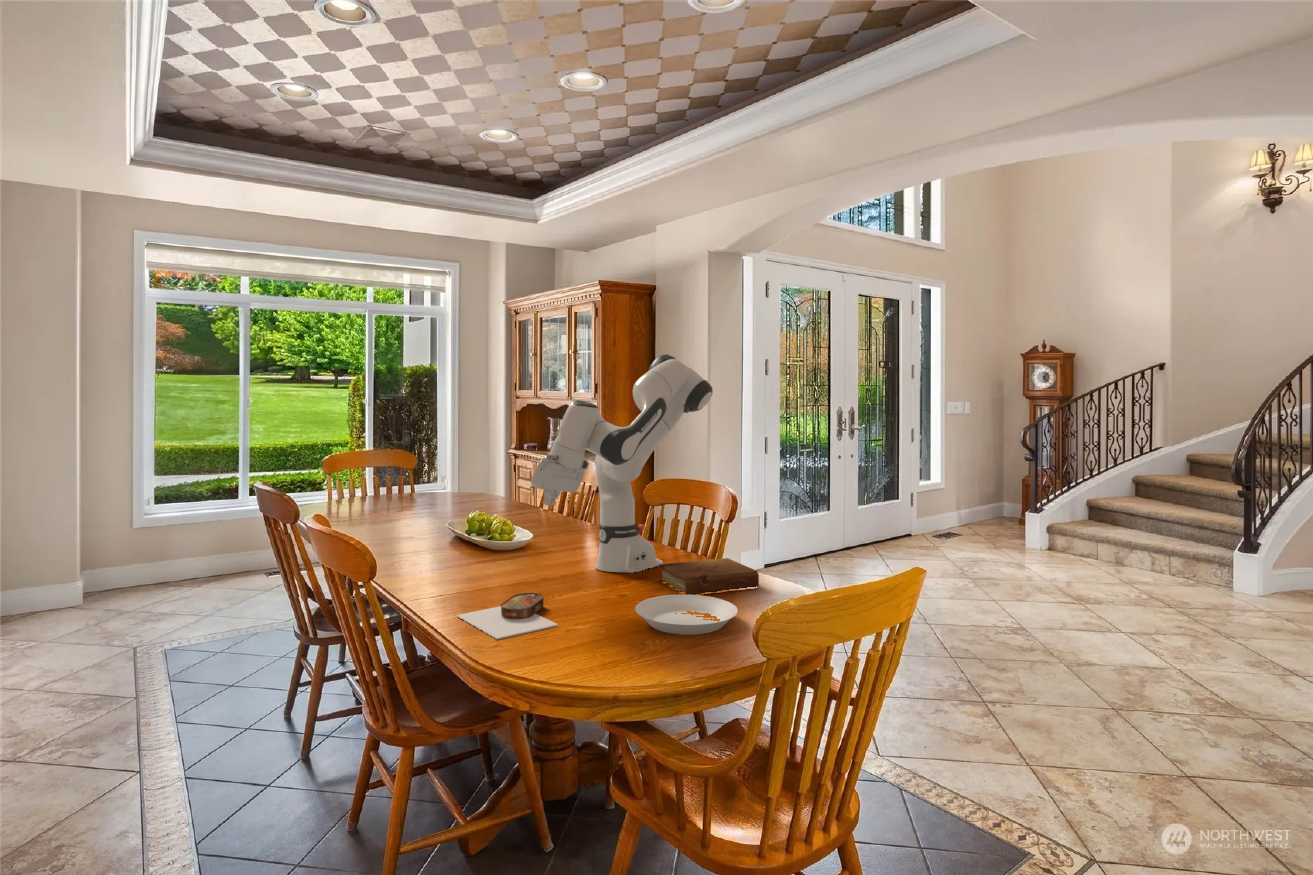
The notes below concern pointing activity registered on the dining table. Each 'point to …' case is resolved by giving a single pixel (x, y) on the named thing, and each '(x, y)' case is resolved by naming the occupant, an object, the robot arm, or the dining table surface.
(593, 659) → the dining table surface
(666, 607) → the bowl
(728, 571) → the diary
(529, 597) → the tin
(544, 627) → the mat
